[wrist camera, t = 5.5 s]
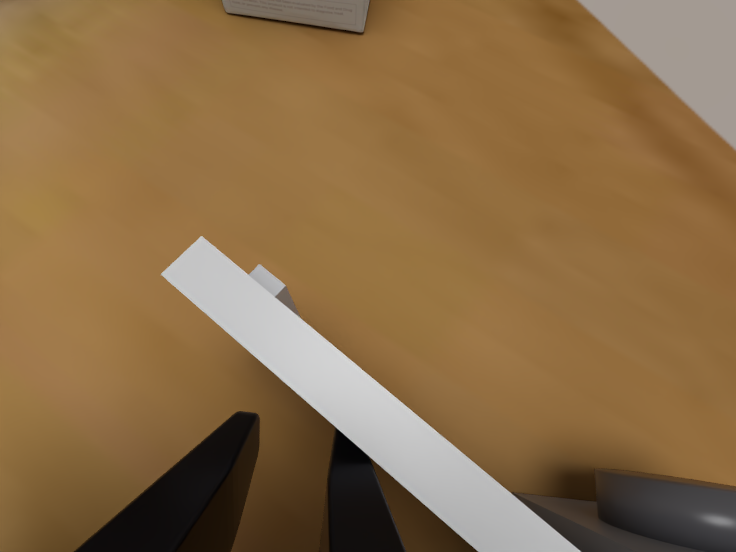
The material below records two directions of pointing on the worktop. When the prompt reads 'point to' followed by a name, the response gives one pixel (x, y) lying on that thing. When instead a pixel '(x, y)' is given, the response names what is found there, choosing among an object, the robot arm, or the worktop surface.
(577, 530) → the box
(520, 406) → the worktop surface
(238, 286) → the side door
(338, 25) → the supplement box
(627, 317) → the worktop surface
